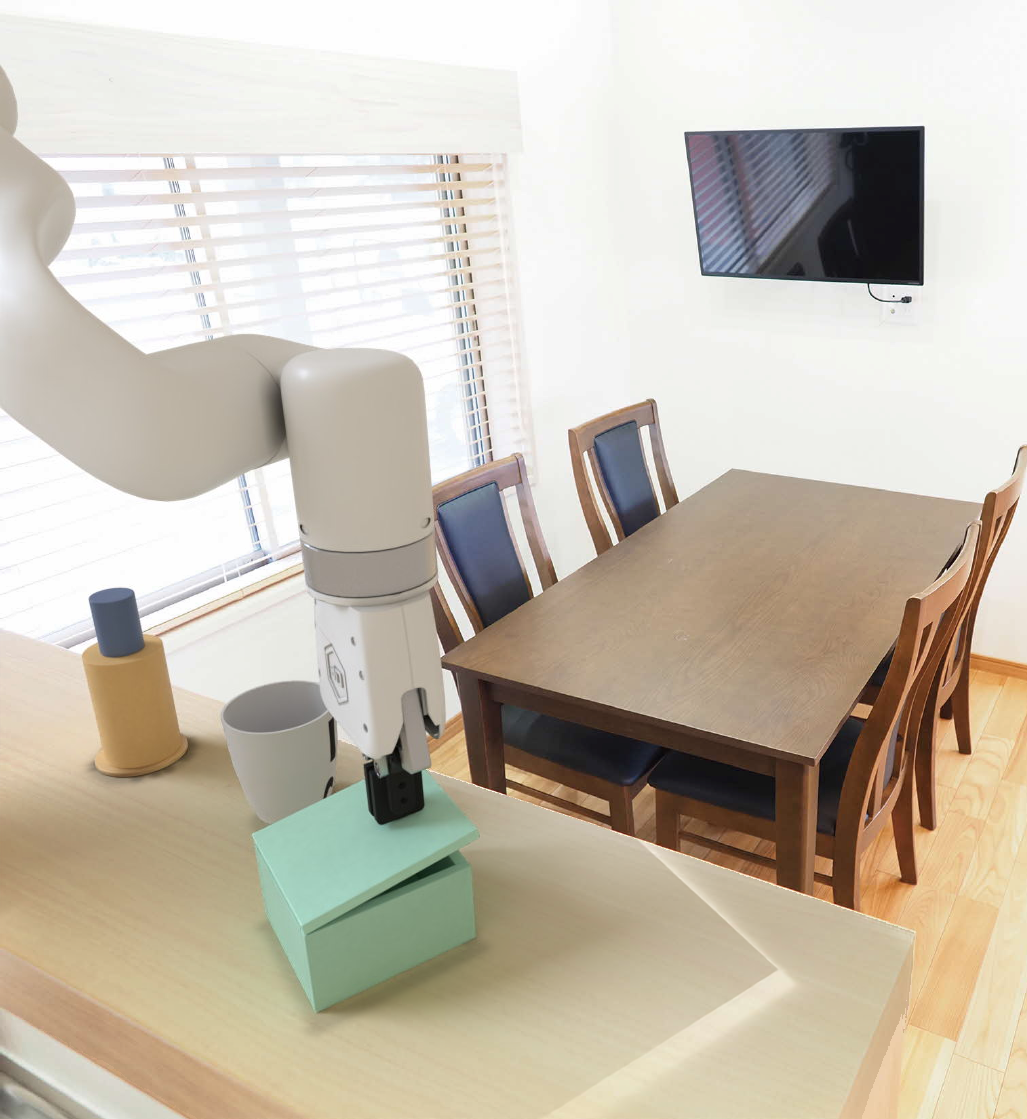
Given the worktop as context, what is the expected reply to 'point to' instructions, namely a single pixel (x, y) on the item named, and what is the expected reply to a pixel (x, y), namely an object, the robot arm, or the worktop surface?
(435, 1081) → the worktop surface
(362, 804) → the lid
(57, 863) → the worktop surface
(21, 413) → the robot arm
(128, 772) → the coaster
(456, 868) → the mint green lidded box
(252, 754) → the cup
